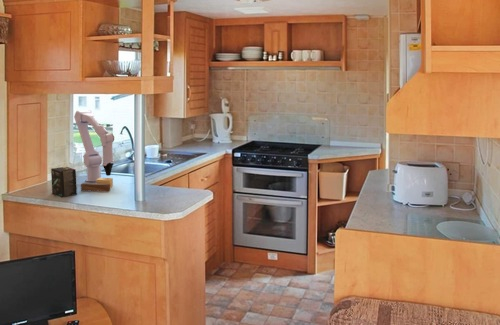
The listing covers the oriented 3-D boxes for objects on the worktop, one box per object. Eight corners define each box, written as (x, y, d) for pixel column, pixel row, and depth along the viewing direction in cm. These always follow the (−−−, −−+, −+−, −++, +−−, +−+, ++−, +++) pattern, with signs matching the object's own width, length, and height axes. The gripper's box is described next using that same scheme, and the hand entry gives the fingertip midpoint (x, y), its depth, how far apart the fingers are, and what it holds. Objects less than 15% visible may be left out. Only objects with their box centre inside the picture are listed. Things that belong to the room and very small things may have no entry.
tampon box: (77, 194, 279) (76, 169, 276) (61, 197, 272) (60, 171, 270) (67, 191, 286) (66, 166, 284) (51, 194, 279) (50, 168, 277)
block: (99, 185, 302) (99, 177, 301) (112, 186, 302) (112, 178, 301) (96, 188, 296) (96, 179, 295) (109, 188, 296) (109, 180, 295)
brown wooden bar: (82, 189, 291) (82, 182, 290) (110, 190, 291) (110, 183, 290) (81, 190, 288) (80, 184, 287) (108, 191, 288) (108, 184, 287)
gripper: (110, 155, 296) (111, 177, 299) (117, 151, 311) (118, 173, 313) (98, 155, 296) (99, 177, 299) (106, 151, 311) (106, 172, 313)
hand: (108, 175), depth 306 cm, fingers closed
